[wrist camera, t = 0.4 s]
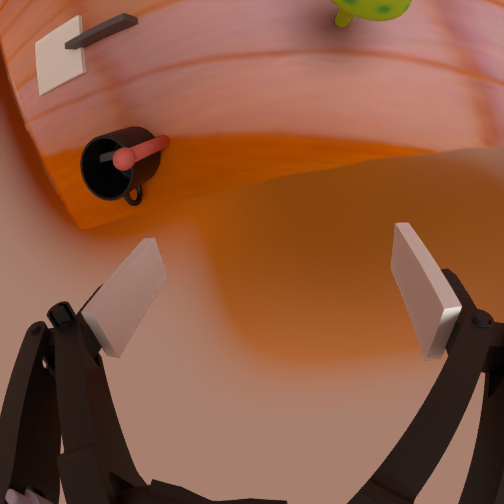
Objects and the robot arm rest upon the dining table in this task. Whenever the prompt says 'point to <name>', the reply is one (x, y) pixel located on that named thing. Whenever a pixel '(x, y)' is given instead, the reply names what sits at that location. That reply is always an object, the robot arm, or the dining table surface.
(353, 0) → the mushroom
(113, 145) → the mug
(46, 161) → the dining table surface
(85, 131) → the dining table surface
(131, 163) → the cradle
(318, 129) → the dining table surface
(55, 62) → the plate
